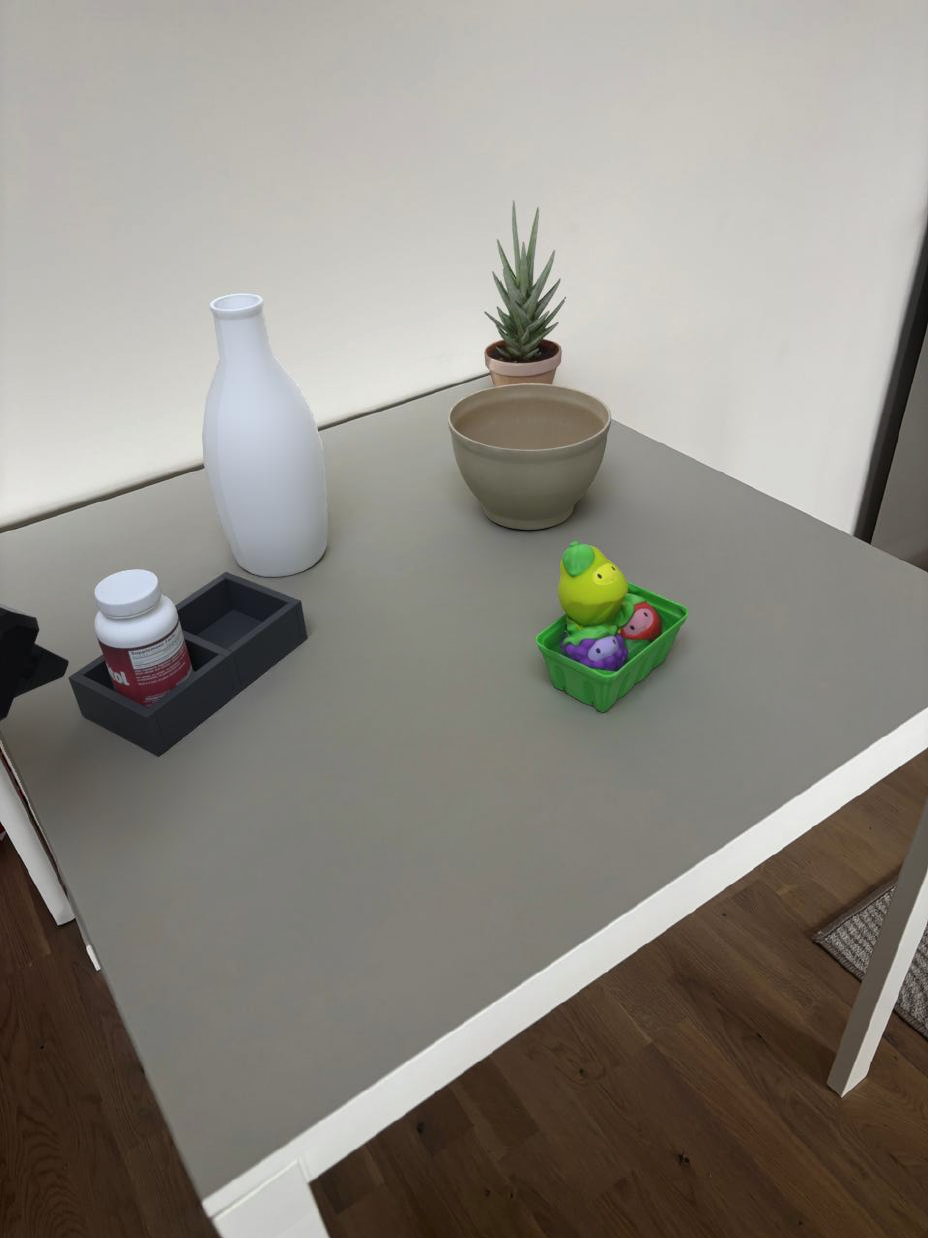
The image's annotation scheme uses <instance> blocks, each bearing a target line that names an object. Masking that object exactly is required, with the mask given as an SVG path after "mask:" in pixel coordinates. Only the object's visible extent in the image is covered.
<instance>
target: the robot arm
mask: <svg viewBox="0 0 928 1238" xmlns="http://www.w3.org/2000/svg"><path fill="white" fill-rule="evenodd" d="M39 632H40V626H39V622H38V618H37V617H36V616H34V615H31V614H28V613H26V612H23V611H21V610H18V609H15V608H14V607H11V606H8V605H5V604H2V603H0V722H1V721H3V720H5V719H7V718H8V715H9V712H10V710H11V707H12V705H13V702H14V699H16V698H17V697H20V696H22V695H24V694H27V693H28V692H31V691H34V690H35V689H38V688H41V687H42V686H45V685H47V684H49V683H53V682H55V681H58V680H59V679H61V678H63V677H64V676H65V675H66V673H67V669H68V668H69V664H70V662H69V660H68V659H66V658H64V657H63V656H61V655H59V654H56V653H55V652H53V651H51V650H49V649H47V648H45V647H44V646H41V645H39V644H37V643H36V640H37V639H38V635H39Z"/></svg>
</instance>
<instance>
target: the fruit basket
mask: <svg viewBox="0 0 928 1238" xmlns="http://www.w3.org/2000/svg"><path fill="white" fill-rule="evenodd" d="M559 571H560V572H559V573H560V578H559V582H558V586H557V596H558V601H559V604H560V607H561V609H562V611H563V612H564V614H563V615H562V616H561V617H559V618H558V619H556V620H555V621H554V622H552V623H551V624H550V625H549V626H547V627H546V628H545V629H543V630H542V631H541V632H540V633H538V634H537V635H536V637H535V643H536V645H537V647H538V650H539V651H540V653H541V654H542V657H543V660H544V663H545V665H546V668H547V671H548V673H549V676H550V679H551V683H552V685H553V687H554V688H555V689H557V690H561V691H564V692H565V693H566V694H567V695H569V696H570V697H572V698H573V699H576V700H578V701H580V702H582V703H584V704H586V705H588V706H591V707H592V706H593V708H595V710H596V711H599V712H600V713H605V712H606V711H608V710H609V709H610V708H611V707H613V706H614V705H615V704H616V702H617V700H619V699H620V698H623V697H624V696H625V695H627V693H628V692H630V691H631V690H632V689H633V688H634V686H635V684H638V683H640V682H641V681H642V680H644V679H645V678H646V677H647V676H648V675H649V674H650V673H651V672H652V670H653V669H655V668H657V667H658V666H660V665H661V664H662V663H663V662H665V660H666V659H667V657H668V655H669V653H670V650H671V648H672V646H673V645H674V642H675V640H676V638H677V635H678V634H679V631H680V629H681V627H682V626H683V625H684V624H685V622H686V620H687V618H688V617H689V615H690V611H689V609H688V608H687V607H686V606H685V605H683V604H680V603H679V602H676V601H674V600H671V599H669V598H666V597H664V596H662V595H660V594H656V593H655V592H652V591H650V590H648V589H645V588H643V587H642V586H639V585H637V584H634V583H632V582H630V581H627V579H626V577H625V575H624V573H623V572H622V571H621V570H620V568H619V567H618V566H617V565H616V564H615V563H614V562H613V561H611V560H609V559H608V558H607V557H606V556H605V554H603V553H602V551H601V550H600V549H598V547H596V546H593V545H589V544H587V543H580V544H579V542H578V541H577V540H575V541H572V542H570V543H569V547H568V548H567V549H566V550H565V551H564V552H563V554H562V556H561V559H560V563H559Z"/></svg>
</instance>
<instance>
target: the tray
mask: <svg viewBox="0 0 928 1238" xmlns="http://www.w3.org/2000/svg"><path fill="white" fill-rule="evenodd" d="M174 605H175V607H176V610H177V614H178V617H179V620H180V624H181V628H182V632H183V636H184V640H185V643H186V647H187V651H188V654H189V658H190V662H191V665H192V669H193V673H194V674H192V675H191V676H190V677H188V678H187V679H186V680H184V681H183V682H182V683H180V684H179V685H177V686H176V687H175V688H173V689H172V690H171V691H169V692H168V693H167V694H165V695H164V696H163V697H161V698H160V699H159V700H157V701H156V702H155V703H153V704H152V705H151V706H149V707H148V708H146V707H144V706H142V705H140V704H138V703H136V702H134V701H132V700H130V699H129V698H127V697H125V696H123V695H121V694H119V693H117V692H115V689H114V686H113V683H112V680H111V676H110V674H109V671H108V667H107V665H106V662H105V659H104V656H103V654H100V655H99V656H98V657H97V658H95V659H93V660H92V661H91V662H89V663H88V664H86V665H85V666H83V667H82V668H80V669H78V670H77V671H76V672H74V673H73V674H71V675H69V676H68V681H69V683H70V686H71V689H72V692H73V695H74V697H75V700H76V703H77V705H78V708H79V710H80V714H81V716H82V717H83V718H86V719H87V720H89V721H91V722H93V723H95V724H97V725H98V726H100V727H103V728H104V729H106V730H107V731H110V732H111V733H113V734H115V735H117V736H119V737H121V738H122V739H125V740H126V741H129V742H130V743H132V744H134V745H136V746H137V747H140V748H142V749H143V750H145V751H147V752H149V753H151V754H153V755H154V756H157V757H160V756H162V755H163V754H165V752H167V751H168V750H170V749H171V748H172V747H173V746H175V744H177V743H178V742H179V741H181V740H182V739H183V738H185V736H187V735H188V734H189V733H191V732H192V731H193V730H194V729H196V728H197V727H199V725H201V724H202V723H204V721H206V720H208V718H209V717H211V716H212V715H214V714H215V713H216V712H217V711H218V710H220V709H221V708H222V707H223V706H225V705H226V704H227V703H228V702H230V701H231V700H232V699H234V698H235V697H236V696H237V695H238V694H240V693H241V692H242V691H244V690H245V689H246V688H247V687H248V686H250V685H251V684H252V683H254V681H256V680H257V679H259V678H260V677H261V676H262V675H263V674H265V673H266V672H267V671H268V670H270V669H272V667H273V666H275V665H276V664H277V663H279V662H280V661H281V660H282V659H284V658H285V657H286V656H287V655H288V654H290V653H291V652H292V651H293V650H295V649H296V648H297V647H298V646H300V645H301V644H302V643H303V642H305V641H306V640H307V639H308V633H307V632H308V631H307V627H306V621H305V613H304V608H303V604H302V600H300V599H298V598H295V597H292V596H290V595H287V594H286V593H285V594H284V593H282V592H279V591H277V590H275V589H272V588H269V587H268V586H267V587H266V586H265V585H262V584H259V583H256V582H254V581H251V580H248V579H246V578H243V577H240V576H238V575H235V574H234V573H230V572H228V571H225V572H224V571H223V573H221V574H220V575H218V576H217V577H215V578H213V579H211V581H210V582H208V583H206V584H204V586H202V587H200V588H199V589H197V590H196V591H194V592H193V593H191V594H190V595H188V596H187V597H185V598H184V599H183V600H181V601H180V602H178V603H176V604H174Z"/></svg>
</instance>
